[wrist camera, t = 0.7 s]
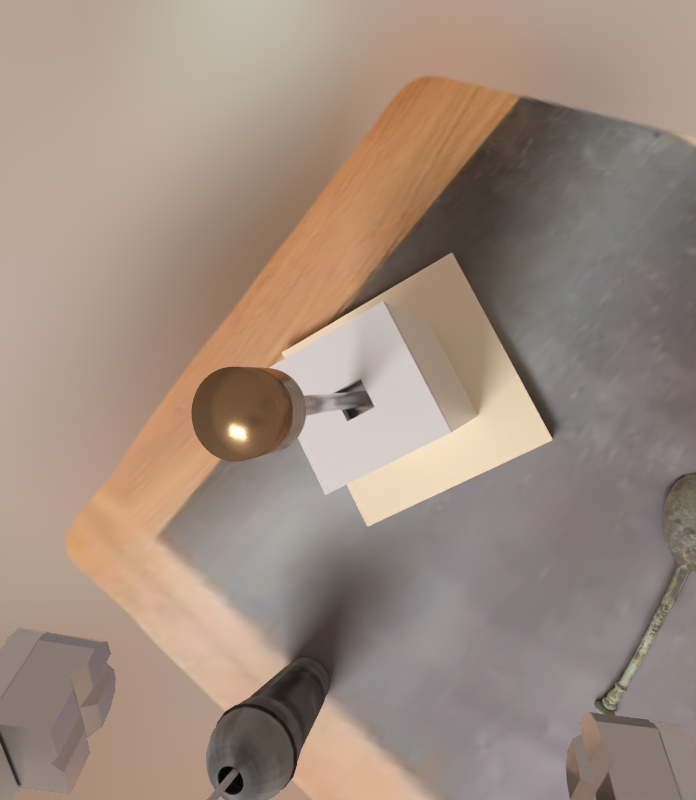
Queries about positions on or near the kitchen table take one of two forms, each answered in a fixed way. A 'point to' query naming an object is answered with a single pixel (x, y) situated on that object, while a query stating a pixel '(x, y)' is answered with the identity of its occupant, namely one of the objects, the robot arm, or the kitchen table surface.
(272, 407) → the plunger
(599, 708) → the soupspoon
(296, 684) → the beverage cup
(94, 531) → the kitchen table surface
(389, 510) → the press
